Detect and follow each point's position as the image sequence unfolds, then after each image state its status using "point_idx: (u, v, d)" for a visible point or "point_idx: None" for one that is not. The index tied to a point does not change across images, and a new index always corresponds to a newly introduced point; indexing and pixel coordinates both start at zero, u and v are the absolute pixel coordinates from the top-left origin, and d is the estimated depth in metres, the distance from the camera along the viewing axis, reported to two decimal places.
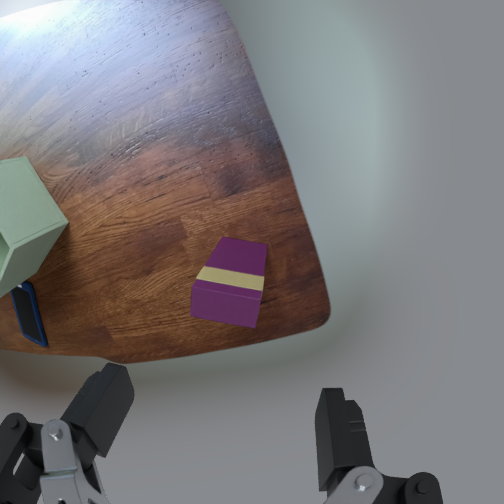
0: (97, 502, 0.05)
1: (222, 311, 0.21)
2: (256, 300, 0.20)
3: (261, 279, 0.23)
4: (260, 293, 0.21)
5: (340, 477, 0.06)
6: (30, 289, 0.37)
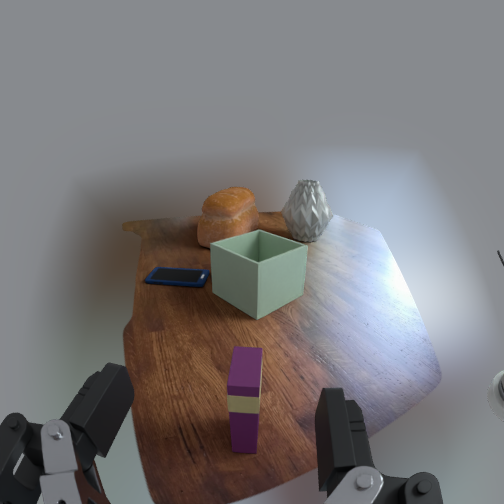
0: (97, 502, 0.05)
1: (242, 364, 0.23)
2: (257, 384, 0.21)
3: None
4: (259, 393, 0.21)
5: (340, 477, 0.06)
6: (199, 284, 0.60)
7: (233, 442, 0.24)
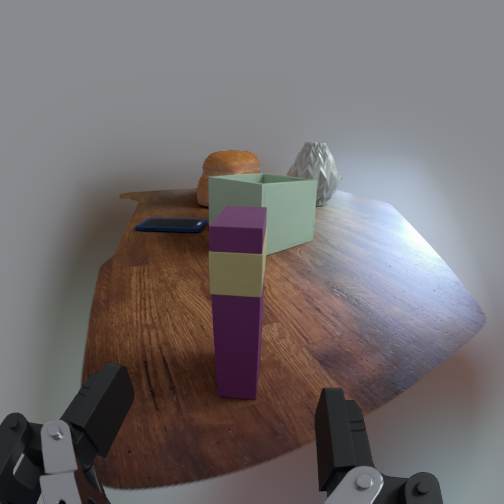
0: (97, 502, 0.05)
1: (237, 214, 0.16)
2: (260, 226, 0.14)
3: (261, 285, 0.15)
4: (262, 244, 0.14)
5: (340, 477, 0.06)
6: (194, 228, 0.53)
7: (219, 373, 0.17)
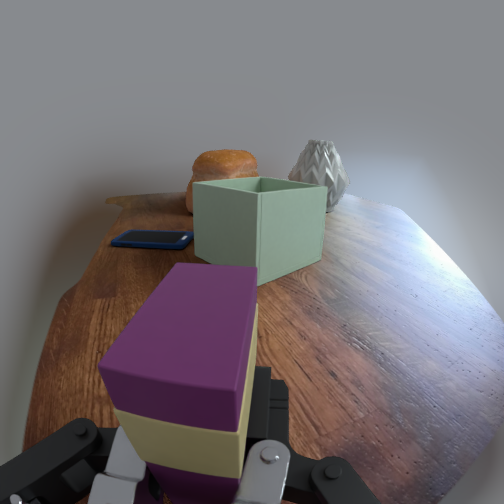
0: None
1: (184, 302, 0.07)
2: (229, 376, 0.04)
3: (241, 464, 0.05)
4: (237, 415, 0.05)
5: None
6: (178, 245, 0.44)
7: None
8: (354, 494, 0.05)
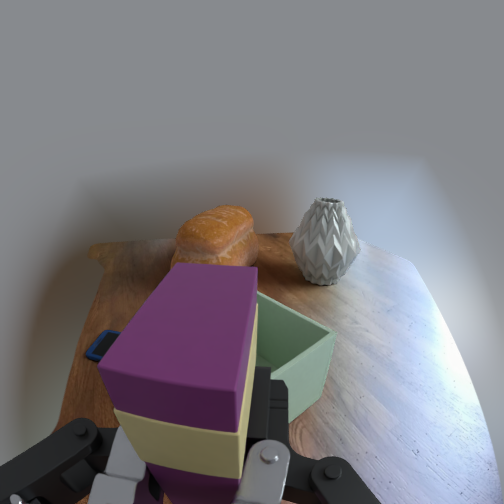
0: None
1: (184, 302, 0.07)
2: (229, 377, 0.04)
3: (241, 464, 0.05)
4: (237, 416, 0.04)
5: None
6: None
7: None
8: (354, 494, 0.05)
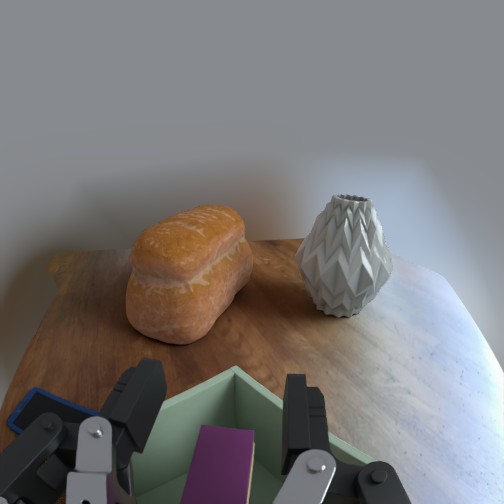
0: None
1: (213, 466, 0.10)
2: None
3: None
4: None
5: (295, 459, 0.07)
6: None
7: None
8: (393, 500, 0.04)
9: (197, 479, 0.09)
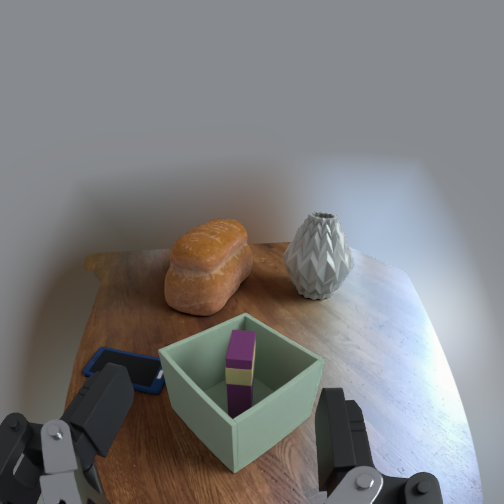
0: (97, 502, 0.05)
1: (238, 343, 0.29)
2: (250, 358, 0.27)
3: (251, 380, 0.28)
4: (251, 366, 0.27)
5: (340, 477, 0.06)
6: (153, 390, 0.35)
7: (229, 415, 0.30)
8: None
9: (232, 347, 0.28)
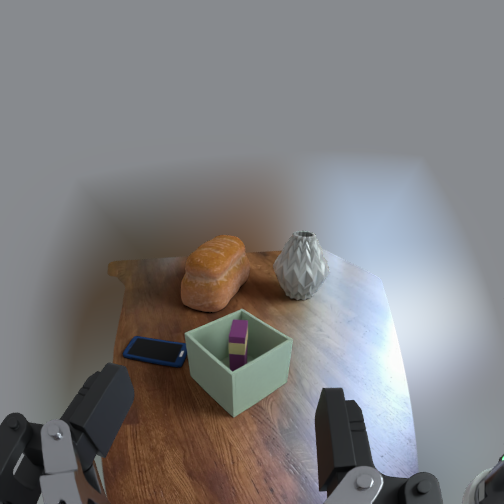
0: (97, 502, 0.05)
1: (237, 327, 0.46)
2: (244, 336, 0.44)
3: (245, 351, 0.45)
4: (244, 341, 0.44)
5: (340, 477, 0.06)
6: (177, 365, 0.53)
7: None
8: None
9: (233, 330, 0.46)
